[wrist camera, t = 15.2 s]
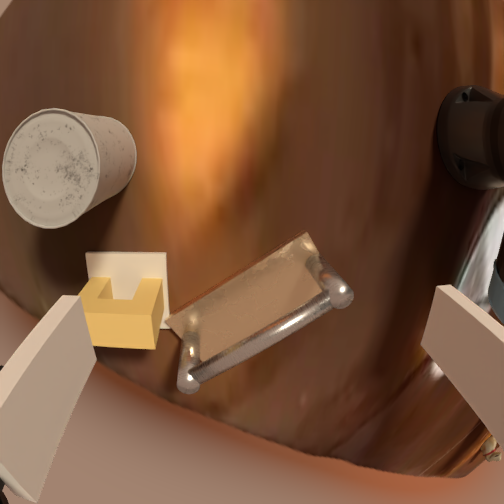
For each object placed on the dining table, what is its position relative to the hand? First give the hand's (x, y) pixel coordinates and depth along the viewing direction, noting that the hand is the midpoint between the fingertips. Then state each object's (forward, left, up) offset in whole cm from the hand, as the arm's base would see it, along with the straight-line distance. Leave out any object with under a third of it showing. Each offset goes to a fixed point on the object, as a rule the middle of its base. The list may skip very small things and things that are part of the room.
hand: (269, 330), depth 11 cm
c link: (+12, +12, -26) cm, 31 cm away
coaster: (+12, +12, -26) cm, 31 cm away
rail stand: (-3, +13, -26) cm, 29 cm away
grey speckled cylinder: (+15, -4, -27) cm, 31 cm away
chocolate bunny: (-86, +74, -27) cm, 116 cm away
